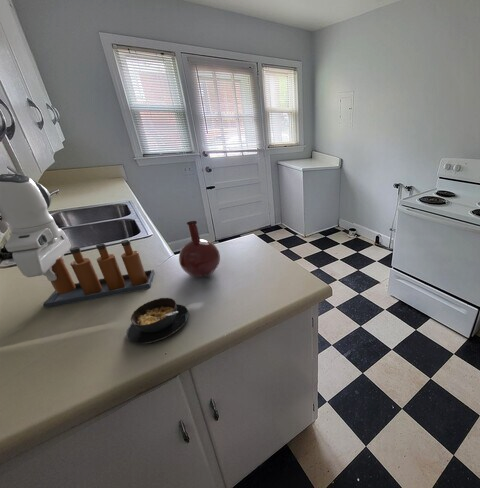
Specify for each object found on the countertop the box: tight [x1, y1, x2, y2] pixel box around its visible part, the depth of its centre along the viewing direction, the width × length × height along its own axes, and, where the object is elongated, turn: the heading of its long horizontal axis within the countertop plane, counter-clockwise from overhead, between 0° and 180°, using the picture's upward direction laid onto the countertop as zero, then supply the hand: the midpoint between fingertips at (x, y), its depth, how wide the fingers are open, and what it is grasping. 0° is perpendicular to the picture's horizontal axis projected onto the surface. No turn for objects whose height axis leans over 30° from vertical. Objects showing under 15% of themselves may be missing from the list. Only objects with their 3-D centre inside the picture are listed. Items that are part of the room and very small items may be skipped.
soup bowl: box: [126, 297, 190, 345], centre depth 71 cm, size 15×16×7 cm
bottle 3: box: [120, 239, 148, 286], centre depth 89 cm, size 5×5×16 cm
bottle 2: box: [95, 242, 125, 290], centre depth 87 cm, size 5×5×16 cm
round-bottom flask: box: [178, 220, 221, 278], centre depth 94 cm, size 13×13×20 cm
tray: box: [42, 269, 156, 309], centre depth 89 cm, size 27×10×2 cm, turn 113°
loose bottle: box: [50, 256, 76, 294], centre depth 81 cm, size 5×5×16 cm
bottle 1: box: [69, 246, 102, 295], centre depth 84 cm, size 5×5×16 cm
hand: (58, 274), depth 82 cm, fingers closed on loose bottle, 4 cm apart
